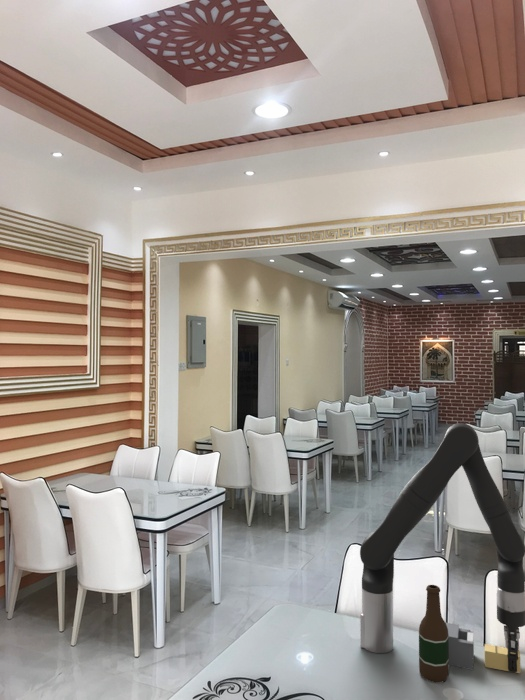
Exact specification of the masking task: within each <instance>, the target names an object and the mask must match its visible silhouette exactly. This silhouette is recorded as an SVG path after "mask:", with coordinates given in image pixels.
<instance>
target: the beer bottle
mask: <svg viewBox="0 0 525 700" xmlns="http://www.w3.org/2000/svg"><path fill="white" fill-rule="evenodd" d="M425 591H426V607H425V614H424V617H422V619H421V621H420V624H419V627H418V669H419V675H421V676H422V678H423V679H424V680H426V681H429V682H432V683H436V684H437V683H445V682H446V680H447V678H448V677H449V673H450V665H449V637H448V628H447V625H446V623H447V622H446V621H445V619H444V618H443V616H442V611H441V598H440V593H441V588H440V586H438V585H435V584H428V585H427V586H426V589H425ZM445 622H446V623H445Z"/></svg>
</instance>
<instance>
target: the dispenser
mask: <svg viewBox="0 0 525 700" xmlns="http://www.w3.org/2000/svg"><path fill="white" fill-rule="evenodd" d="M445 623H446V625H447V628H448V637H449V666H452V667H457V668H463V669H468V670H474V657H475V654H474V653H475V652H474V649H475V648H474V645H475V644H474V643H475V642H474V637H475V636H474V629H473V630H472V629H467V628H460V625H459V624H457V623H451V622H446V621H445Z"/></svg>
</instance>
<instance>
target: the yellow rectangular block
mask: <svg viewBox="0 0 525 700" xmlns="http://www.w3.org/2000/svg"><path fill="white" fill-rule="evenodd" d="M507 654H508V651H507V648H506V646H505V647H503V646H498V645H494V644H493V645H492V644H487V643H484V667H485V668H489V669H496V670H501V671H505V672H510V673H511V671H509V670H508V657H507ZM514 654H515V653H514ZM521 672H522V671H521V651H520V649H519V650H518V660H517V672H514V673H517V674H521Z"/></svg>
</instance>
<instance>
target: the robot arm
mask: <svg viewBox="0 0 525 700" xmlns="http://www.w3.org/2000/svg"><path fill="white" fill-rule="evenodd" d="M478 436H479V435H478V433H477V431H476V430H475V429H474V428H473V427H472V426H471V425H469V424H467V423H462V422H459V423H458V422H457V423H454V424H452V425H451V426H450V427H448V428H447V430H446V432H445V435H444V437H443V439H442V441H441V443H440V445H439V447H438V448H437V449H436V451H435V453H434V454H433V455H432V457H431V459H429V461H428V462H427V463H425V465H424V466H422V467H421V468H420V469H419V470H418V471H417V472H415V474H414V475H413V476H412V477H411V479H409V481H408V482H407V483H406V485H404V487H403V489H401V491H400V493H399V494H398V496H397V497H396V498H395V501H394V503H393V504H392V505H391V508H390V509H389V511H388V513H387V514H386V517H385V518H384V519H383V521H382V523H381V524H380V525H379V526H378V528H377V529H376V530H375V531H372V532H370V533H369V534H367V535H366V536H365V538H364V540H363V541H362V543H361V545H360V549H359V557H360V560H361V562H362V564H363V567H362V568H363V569H362V577H361V613H360V620H359V622H360V624H359V626H360V629H359V630H360V631H359V632H360V639H359V640H360V648H362V649H365V650H366V651H368V652H371V653H376V654H386V653H387V654H388V653H389V652H392V651H393V649H394V577H395V552H396V551H397V549H398V548H399V546H400V544H402V542H403V540H404V539H406V537H407V536H408V535H409V533H411V531H413V529H414V528H415V527H416V526H417V525H418V524H419V522H421V521H422V520H423V518H424V517H425V516H426V515H427V513H428V512H429V511H430V510H431V508H432V507H433V506H434V505H435V503H436V502H437V501H438V499H439V498H440V496H441V495H442V493H444V490H445V488H446V487H447V486H448V484H449V482H450V480H451V479H452V477H453V476H454V474H455V473H456V472H457V471H458V470H459V469H460V468H461V467H462V469H463V471H464V473H465V475H466V477H467V479H468V480H467V481H468V483H469V485H470V486H469V487H470V488H471V492H472V494H473V497H474V499H475V502H476V504H477V506H478V508H479V511H480V513H481V515H482V517H483V520H484V522H485V523H486V525H487V527H488V528H489V531H490V534H491V536H492V540H493V541H494V544H495V547H496V557H497V575H496V577H497V581H496V583H497V587H496V588H497V589H496V619H497V621H498V622H499V623H500V624H502V625H503V634H504V635H503V636H504V641H505V643H504V644H505V648H507V651H508V654H507V657H508V670H509V671H508V672H510V671H511V672H512V673H515V672H517V660H518V650H519V651H520V638H521V633H520V628H522V627H525V572H524V565H523V564H524V557H525V543H524V539H523V537H522V536H521V535H520V533H519V532H518V530H517V528H516V526H515V524H514V523H513V520H512V516H511V513H510V511H509V509H508V507H507V504H506V502H505V500H504V498H503V496H502V493H501V492H500V490H499V488H498V487H497V484H496V482H495V481H494V479H493V477H492V475H491V473H490V471H489V469H488V467H487V465H486V462H485V460H484V457H483V453H482V450H481V447H480V444H479V437H478ZM514 653H515V654H514ZM511 672H510V673H511Z"/></svg>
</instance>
